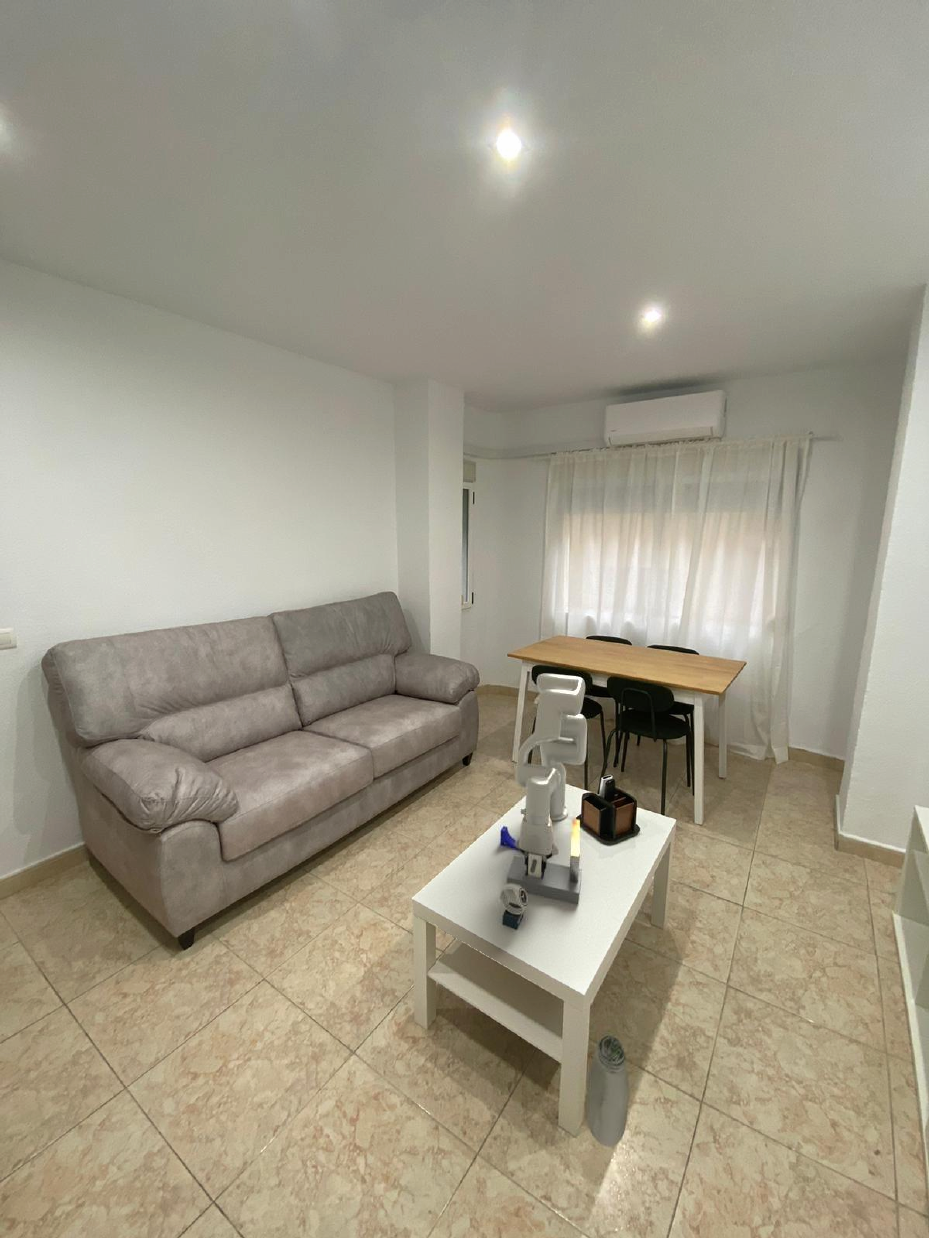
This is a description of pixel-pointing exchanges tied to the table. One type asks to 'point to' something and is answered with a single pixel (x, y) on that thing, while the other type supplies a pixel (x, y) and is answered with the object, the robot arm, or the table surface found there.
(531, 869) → the white upright block
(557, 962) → the table surface
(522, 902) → the watch
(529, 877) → the socket block
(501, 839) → the blue cradle stand
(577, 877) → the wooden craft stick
